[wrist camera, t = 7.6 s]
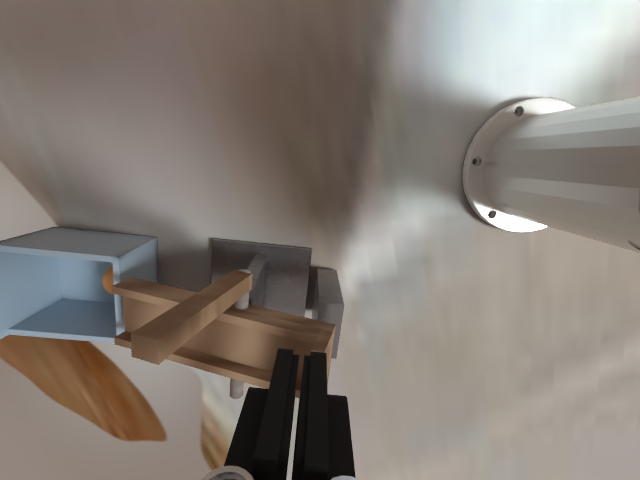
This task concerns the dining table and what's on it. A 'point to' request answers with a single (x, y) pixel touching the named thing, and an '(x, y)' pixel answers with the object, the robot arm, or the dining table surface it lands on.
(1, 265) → the bin
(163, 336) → the lever
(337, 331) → the trestle
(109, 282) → the ball
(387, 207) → the dining table surface
